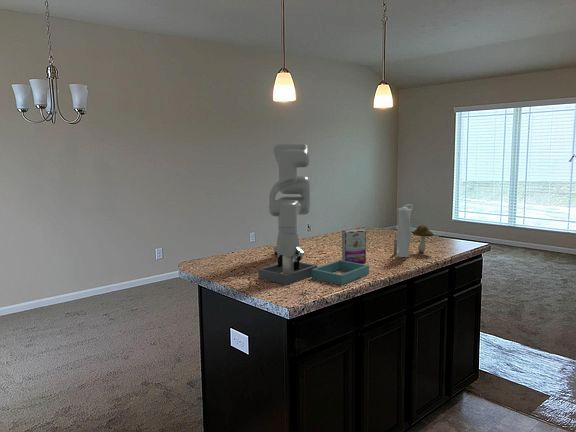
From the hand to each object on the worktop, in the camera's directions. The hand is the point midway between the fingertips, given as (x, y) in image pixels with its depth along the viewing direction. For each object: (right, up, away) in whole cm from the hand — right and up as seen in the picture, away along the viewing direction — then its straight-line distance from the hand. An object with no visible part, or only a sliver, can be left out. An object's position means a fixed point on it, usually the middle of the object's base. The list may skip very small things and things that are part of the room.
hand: (288, 268), depth 205 cm
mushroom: (+73, +3, +47) cm, 87 cm away
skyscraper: (+61, +2, +38) cm, 72 cm away
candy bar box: (+33, 0, +25) cm, 41 cm away
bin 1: (0, -4, +1) cm, 4 cm away
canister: (0, -4, +1) cm, 4 cm away
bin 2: (+23, -4, 0) cm, 24 cm away
